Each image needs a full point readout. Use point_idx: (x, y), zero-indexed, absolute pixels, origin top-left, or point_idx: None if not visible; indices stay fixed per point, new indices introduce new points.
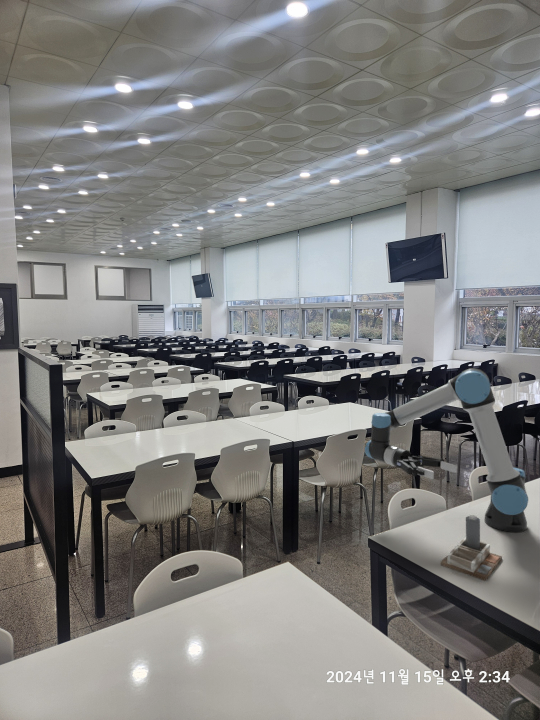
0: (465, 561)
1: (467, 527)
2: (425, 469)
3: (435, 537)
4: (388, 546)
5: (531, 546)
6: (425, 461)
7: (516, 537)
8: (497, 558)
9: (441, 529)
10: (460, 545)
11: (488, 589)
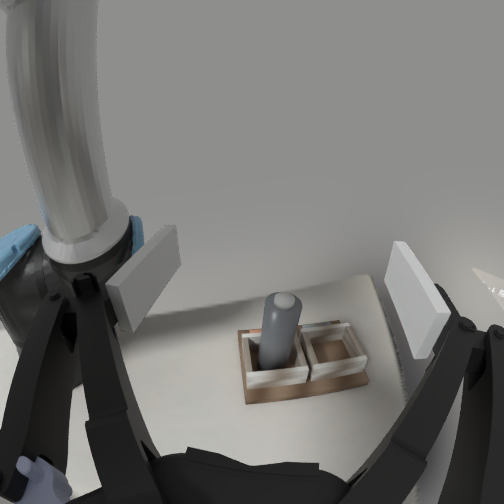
0: (353, 334)
1: (297, 325)
2: (422, 269)
3: None
4: None
5: None
6: (132, 411)
7: None
8: (257, 330)
9: None
10: (304, 365)
11: (353, 315)
